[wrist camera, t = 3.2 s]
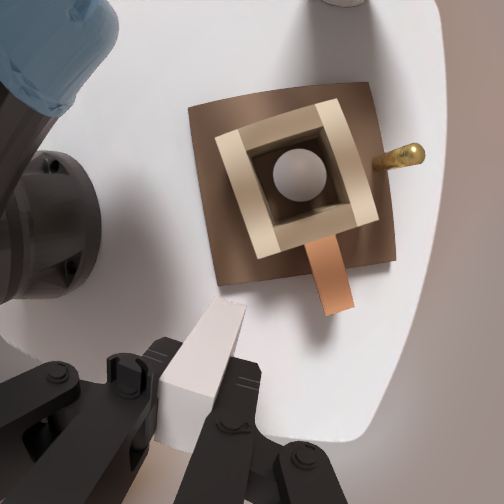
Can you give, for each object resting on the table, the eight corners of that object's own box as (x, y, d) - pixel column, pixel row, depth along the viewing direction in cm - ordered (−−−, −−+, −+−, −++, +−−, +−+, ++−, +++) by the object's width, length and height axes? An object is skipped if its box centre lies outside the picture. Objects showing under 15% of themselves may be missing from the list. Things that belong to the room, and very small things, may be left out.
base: (221, 281, 24) (200, 311, 18) (192, 111, 22) (162, 87, 16) (391, 257, 23) (424, 278, 16) (364, 86, 20) (388, 56, 14)
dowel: (372, 172, 20) (408, 164, 14) (370, 156, 20) (405, 143, 13) (387, 170, 20) (426, 163, 13) (384, 155, 20) (423, 142, 13)
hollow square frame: (226, 147, 21) (214, 137, 17) (327, 114, 20) (336, 98, 16) (282, 306, 23) (282, 329, 19) (378, 275, 22) (395, 291, 18)
